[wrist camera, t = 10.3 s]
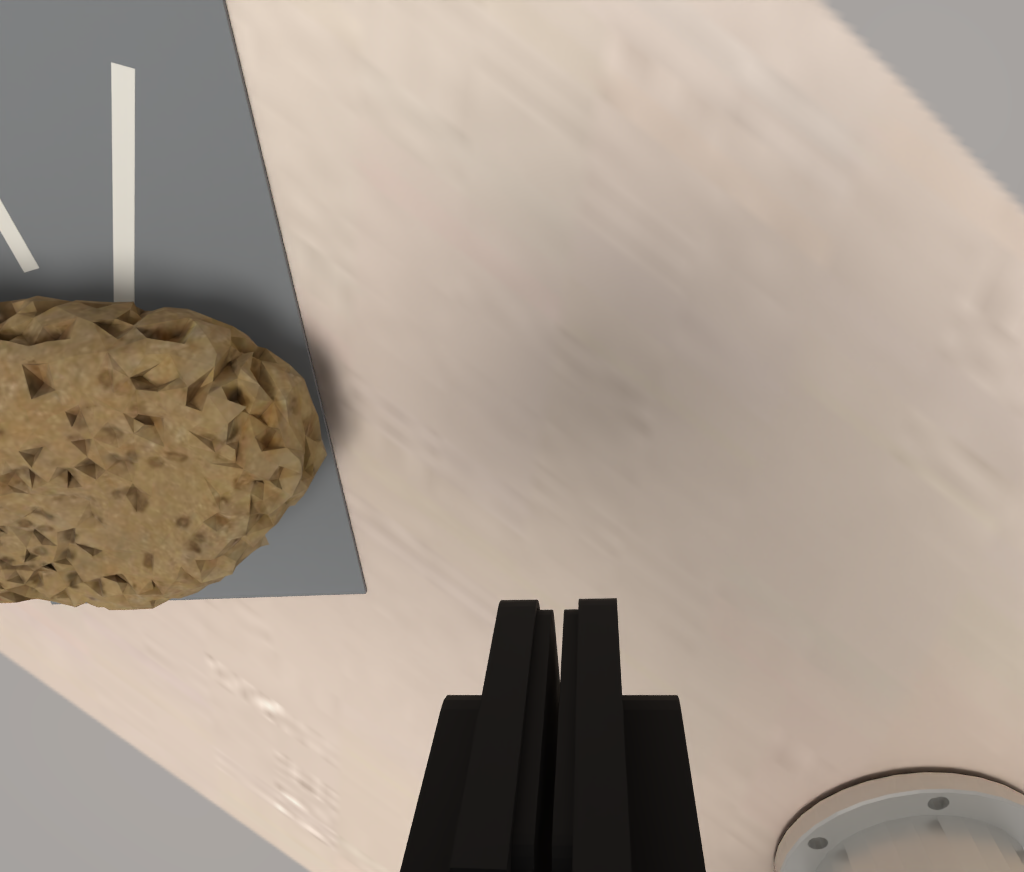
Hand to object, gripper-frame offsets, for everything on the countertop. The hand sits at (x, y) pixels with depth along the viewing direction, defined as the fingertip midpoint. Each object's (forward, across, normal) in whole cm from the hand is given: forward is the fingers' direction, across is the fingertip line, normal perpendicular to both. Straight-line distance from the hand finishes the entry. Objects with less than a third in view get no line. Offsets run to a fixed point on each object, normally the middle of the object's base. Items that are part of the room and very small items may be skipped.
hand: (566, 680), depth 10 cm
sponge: (+15, +19, 0) cm, 24 cm away
